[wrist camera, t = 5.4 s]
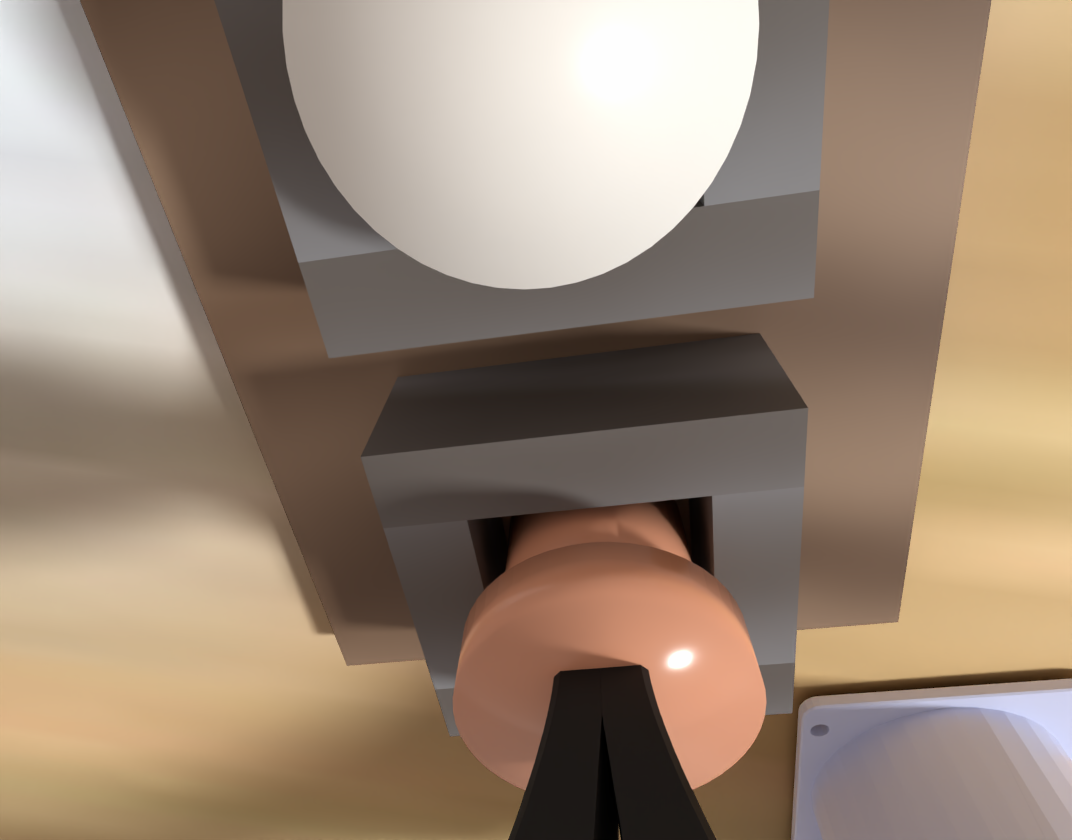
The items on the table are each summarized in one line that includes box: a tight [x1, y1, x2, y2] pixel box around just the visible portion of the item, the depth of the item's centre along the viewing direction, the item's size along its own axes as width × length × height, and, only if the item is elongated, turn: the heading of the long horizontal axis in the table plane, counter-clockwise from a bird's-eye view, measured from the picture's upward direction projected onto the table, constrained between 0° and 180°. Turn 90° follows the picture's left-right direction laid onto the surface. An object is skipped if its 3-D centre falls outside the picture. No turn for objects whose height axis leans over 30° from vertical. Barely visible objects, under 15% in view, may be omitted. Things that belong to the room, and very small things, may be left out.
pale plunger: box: [283, 0, 759, 289], centre depth 9 cm, size 5×5×4 cm
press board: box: [80, 0, 991, 736], centre depth 12 cm, size 18×14×4 cm
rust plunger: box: [453, 500, 766, 791], centre depth 13 cm, size 5×5×4 cm
